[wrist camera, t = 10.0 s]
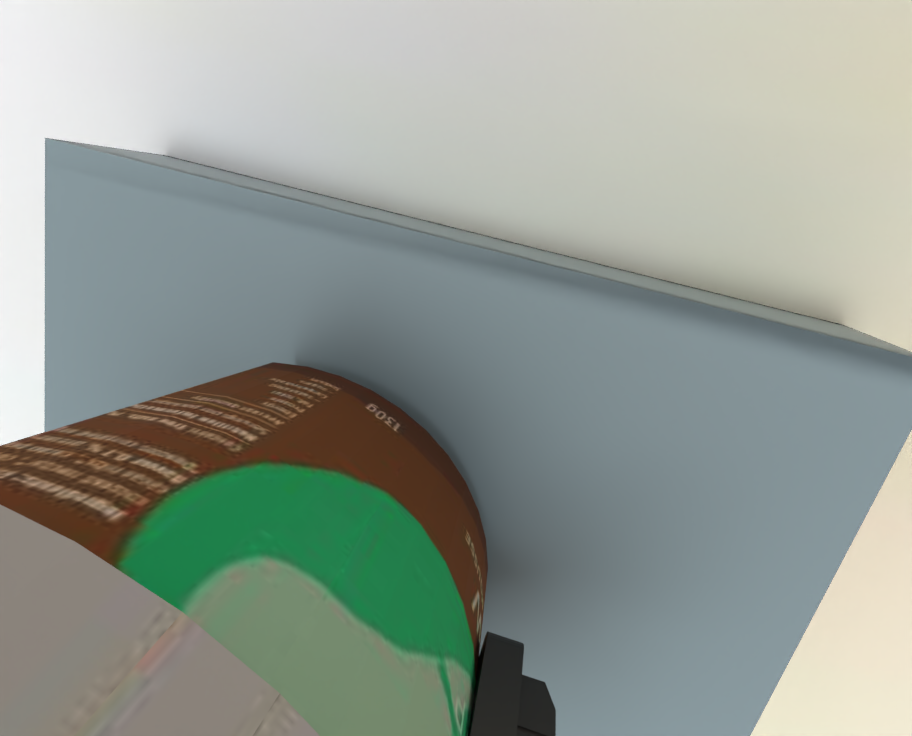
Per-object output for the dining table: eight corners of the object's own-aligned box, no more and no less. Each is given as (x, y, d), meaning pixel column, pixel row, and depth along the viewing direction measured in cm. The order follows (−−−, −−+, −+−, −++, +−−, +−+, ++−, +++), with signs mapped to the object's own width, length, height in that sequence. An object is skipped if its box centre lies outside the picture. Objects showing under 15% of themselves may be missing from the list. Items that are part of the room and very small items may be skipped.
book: (843, 325, 15) (945, 365, 11) (655, 735, 19) (680, 867, 15) (163, 155, 17) (45, 137, 13) (138, 561, 21) (44, 639, 17)
